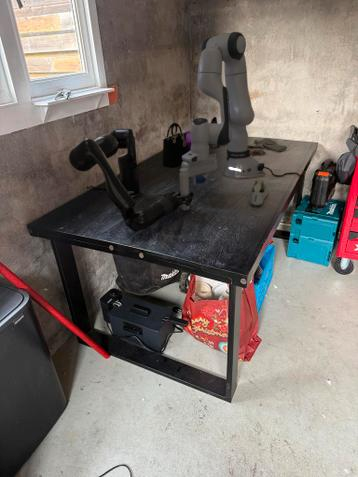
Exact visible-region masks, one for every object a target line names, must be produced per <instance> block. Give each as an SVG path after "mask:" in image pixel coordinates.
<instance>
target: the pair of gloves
mask: <svg viewBox="0 0 358 477" xmlns="http://www.w3.org/2000/svg"><path fill="white" fill-rule="evenodd" d="M253 144H254V145H250V144H248V146H247V149H249V150H251V151H252V152H253V154H252V155H255V154H259V153H260V154H263V155H267V154H266V153H267V152H265V151H264V149H265V148H266V149H268V150H272V151H275V152H283V151H286V150H287V149H288V146H287V145H279V144H278V142H277V141H275V140H273V139H272V138H264V139H260V140H258V139H257V138H256V139H254V140H253Z"/></svg>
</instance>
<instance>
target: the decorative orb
mask: <svg viewBox="0 0 358 477" xmlns="http://www.w3.org/2000/svg"><path fill="white" fill-rule="evenodd" d="M184 133H185V134H186V141H187V148H188V152H189V151H190V150H191V130H187V131H185V132H184Z"/></svg>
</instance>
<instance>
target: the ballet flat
mask: <svg viewBox="0 0 358 477" xmlns="http://www.w3.org/2000/svg"><path fill="white" fill-rule="evenodd" d="M268 194H269V189H268V186H267V183H266V182H265V181H264V180H262V179H257V180H255V181H254V182H253V184H252V187H251V190H250V196H249V204H250V205H251V206H252V207H260V206H261V205H263V203H264V201H265V198H266V196H267V195H268Z"/></svg>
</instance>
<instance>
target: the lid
mask: <svg viewBox="0 0 358 477" xmlns="http://www.w3.org/2000/svg"><path fill="white" fill-rule="evenodd" d="M195 179H196V180H197V184H198V185H201V184H204V183H205V182H206V181H205V177H204V176H203V175H196V177H195Z"/></svg>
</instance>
